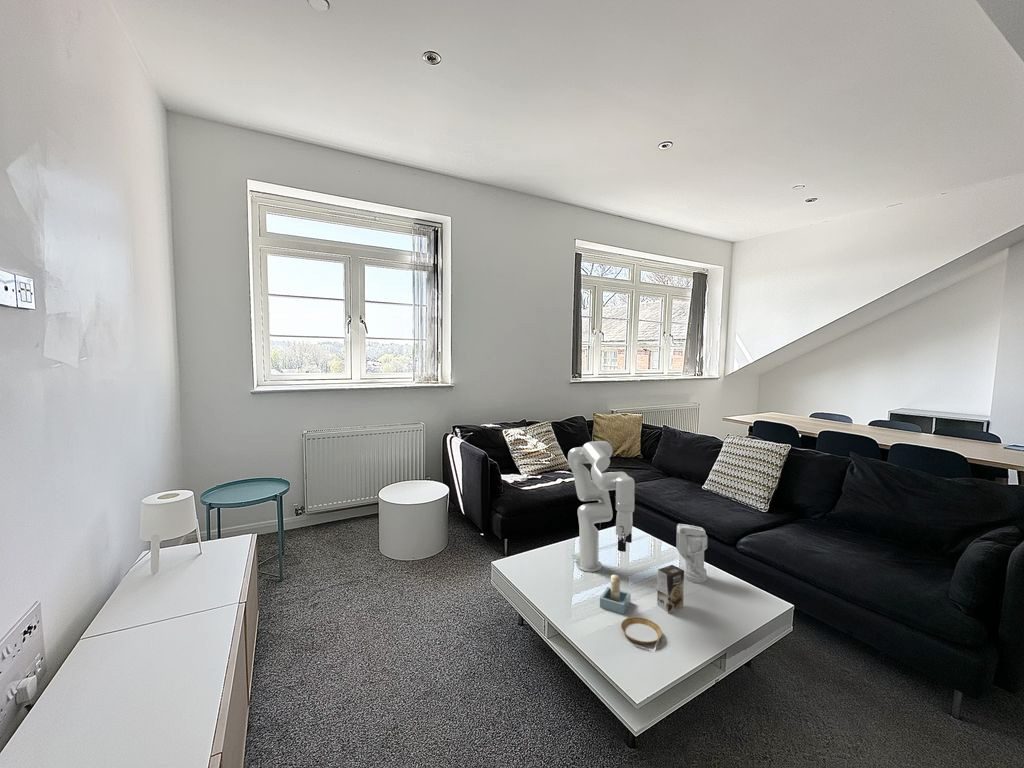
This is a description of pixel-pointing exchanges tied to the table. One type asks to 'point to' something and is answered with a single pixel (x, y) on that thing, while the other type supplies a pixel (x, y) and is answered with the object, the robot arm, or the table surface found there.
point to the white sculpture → (692, 551)
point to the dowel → (615, 588)
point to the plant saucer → (641, 621)
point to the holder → (613, 605)
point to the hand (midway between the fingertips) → (624, 546)
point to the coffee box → (670, 588)
